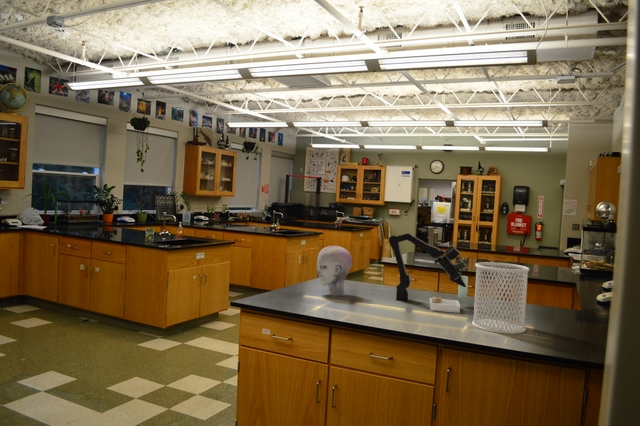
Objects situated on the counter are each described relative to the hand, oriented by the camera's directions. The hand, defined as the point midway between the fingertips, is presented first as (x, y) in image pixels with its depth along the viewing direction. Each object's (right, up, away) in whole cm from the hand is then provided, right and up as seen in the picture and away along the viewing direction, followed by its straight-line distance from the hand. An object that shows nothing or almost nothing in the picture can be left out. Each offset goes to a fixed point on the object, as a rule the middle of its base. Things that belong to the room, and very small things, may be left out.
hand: (465, 286), depth 269 cm
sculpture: (-76, -8, +19) cm, 79 cm away
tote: (-14, -12, -8) cm, 20 cm away
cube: (-18, -11, -7) cm, 22 cm away
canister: (-2, -7, +1) cm, 7 cm away
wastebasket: (+3, -14, -41) cm, 43 cm away
